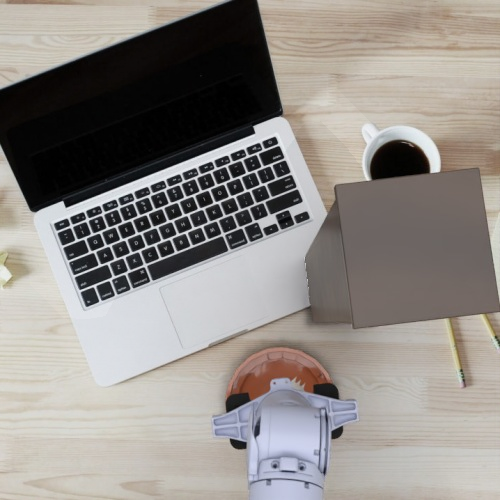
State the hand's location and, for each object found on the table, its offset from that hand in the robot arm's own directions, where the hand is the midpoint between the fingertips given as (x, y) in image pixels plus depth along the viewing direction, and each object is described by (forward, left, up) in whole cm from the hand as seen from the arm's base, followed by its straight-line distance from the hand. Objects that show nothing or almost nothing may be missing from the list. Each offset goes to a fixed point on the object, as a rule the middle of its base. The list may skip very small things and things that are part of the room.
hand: (283, 408), depth 79 cm
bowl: (0, 0, -8) cm, 8 cm away
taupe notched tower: (+13, -9, -8) cm, 18 cm away
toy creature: (0, 0, -2) cm, 2 cm away
